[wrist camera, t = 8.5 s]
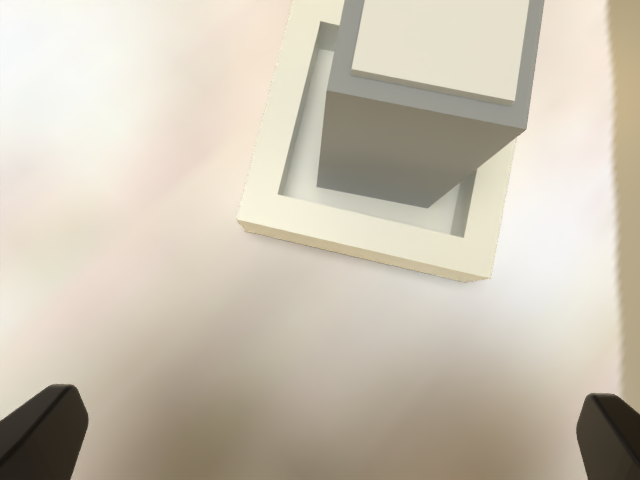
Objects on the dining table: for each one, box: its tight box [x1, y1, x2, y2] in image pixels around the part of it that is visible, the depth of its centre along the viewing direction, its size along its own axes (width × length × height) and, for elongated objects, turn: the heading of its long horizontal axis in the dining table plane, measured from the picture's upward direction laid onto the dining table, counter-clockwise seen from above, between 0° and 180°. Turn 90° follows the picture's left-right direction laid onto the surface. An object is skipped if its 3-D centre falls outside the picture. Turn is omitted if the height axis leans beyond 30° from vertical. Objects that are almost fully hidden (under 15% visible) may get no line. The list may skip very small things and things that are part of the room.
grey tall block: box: [316, 0, 544, 208], centre depth 16 cm, size 4×4×9 cm
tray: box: [236, 0, 517, 282], centre depth 20 cm, size 9×9×3 cm
